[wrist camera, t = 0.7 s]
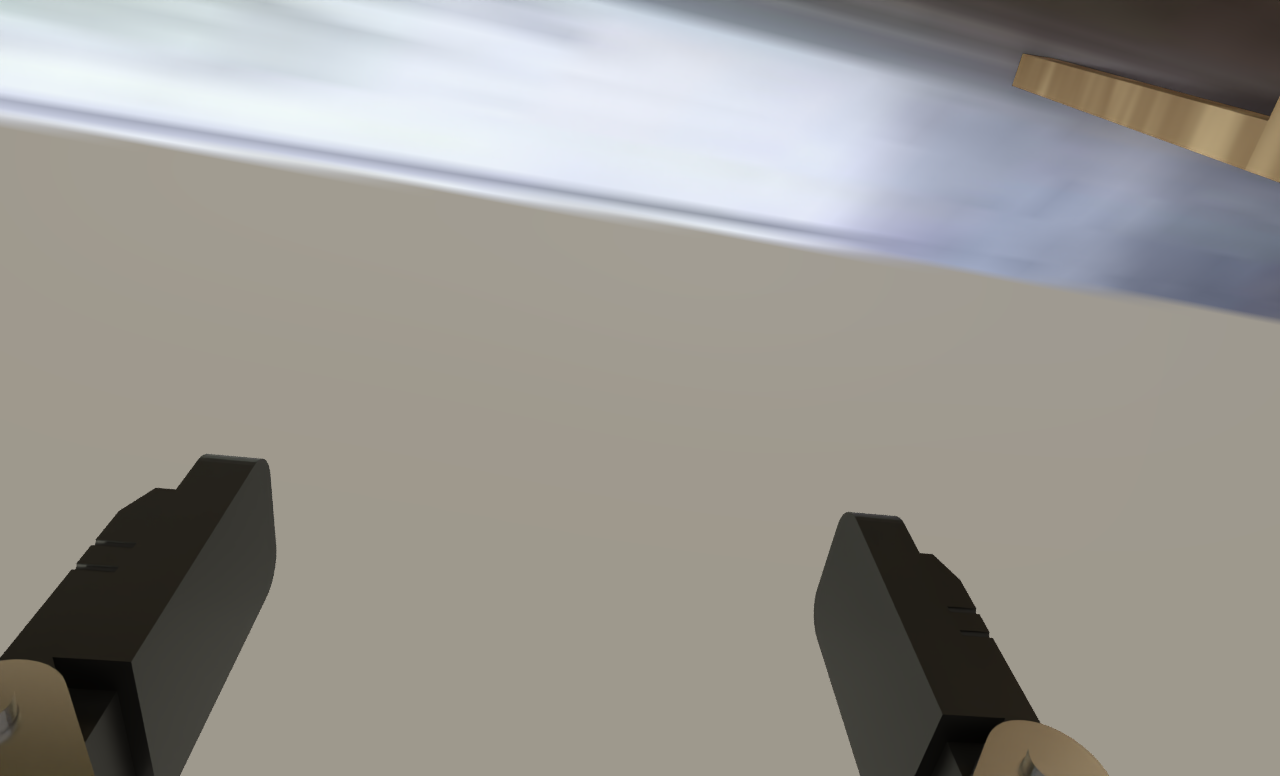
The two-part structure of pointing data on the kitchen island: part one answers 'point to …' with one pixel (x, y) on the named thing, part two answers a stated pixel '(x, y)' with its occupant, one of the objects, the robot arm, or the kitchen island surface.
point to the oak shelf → (1161, 113)
